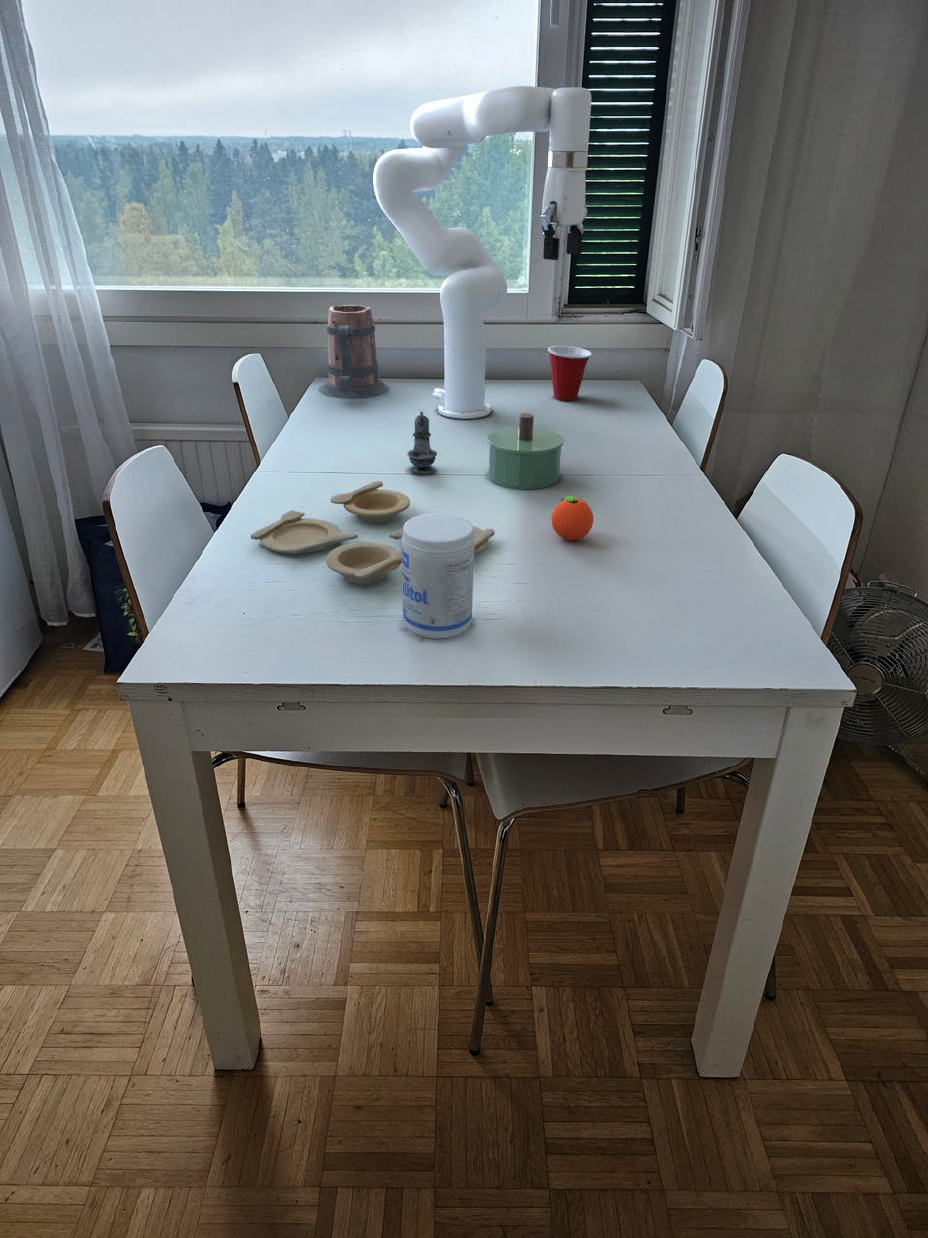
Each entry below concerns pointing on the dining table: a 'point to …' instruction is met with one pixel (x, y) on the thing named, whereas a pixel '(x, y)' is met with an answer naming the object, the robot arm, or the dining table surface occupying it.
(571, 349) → the plastic cup
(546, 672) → the dining table surface
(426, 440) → the salt shaker
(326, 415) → the dining table surface
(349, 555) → the tableware set
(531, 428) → the lid
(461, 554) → the supplement tub
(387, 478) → the dining table surface
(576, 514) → the clementine
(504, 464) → the bowl
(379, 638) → the dining table surface
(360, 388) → the tankard
